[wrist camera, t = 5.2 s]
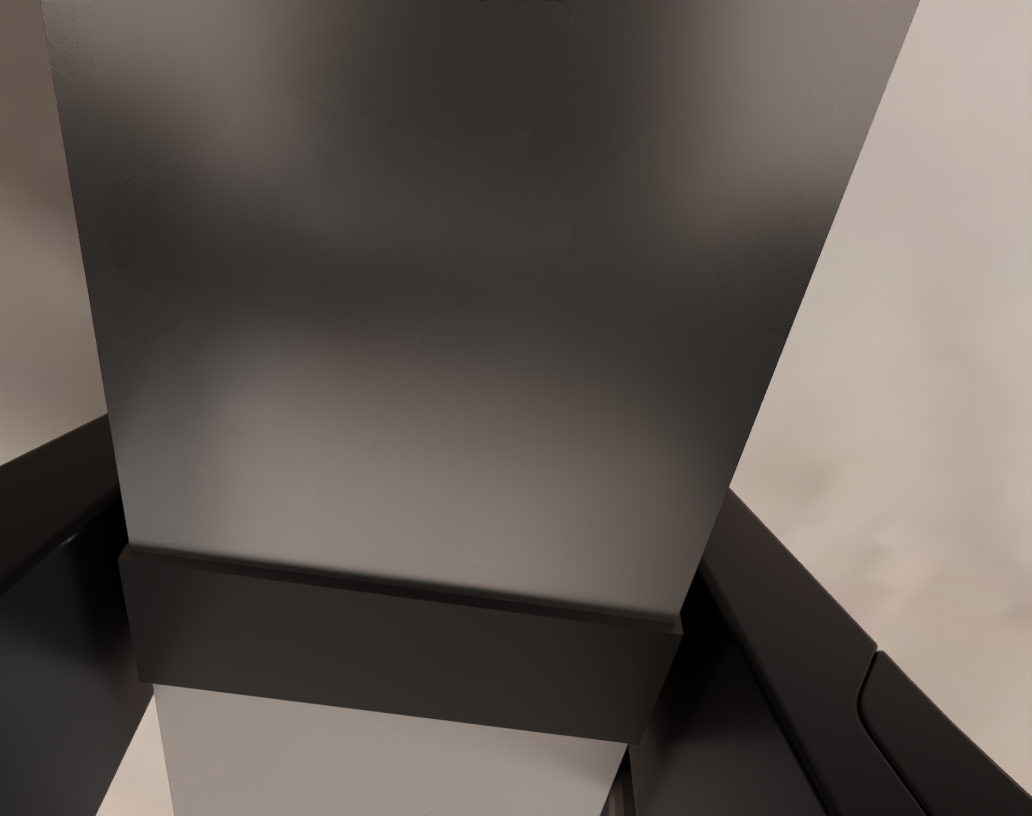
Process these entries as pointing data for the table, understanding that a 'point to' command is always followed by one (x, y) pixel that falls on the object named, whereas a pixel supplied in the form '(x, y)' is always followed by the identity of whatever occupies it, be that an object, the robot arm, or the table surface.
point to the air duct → (438, 362)
